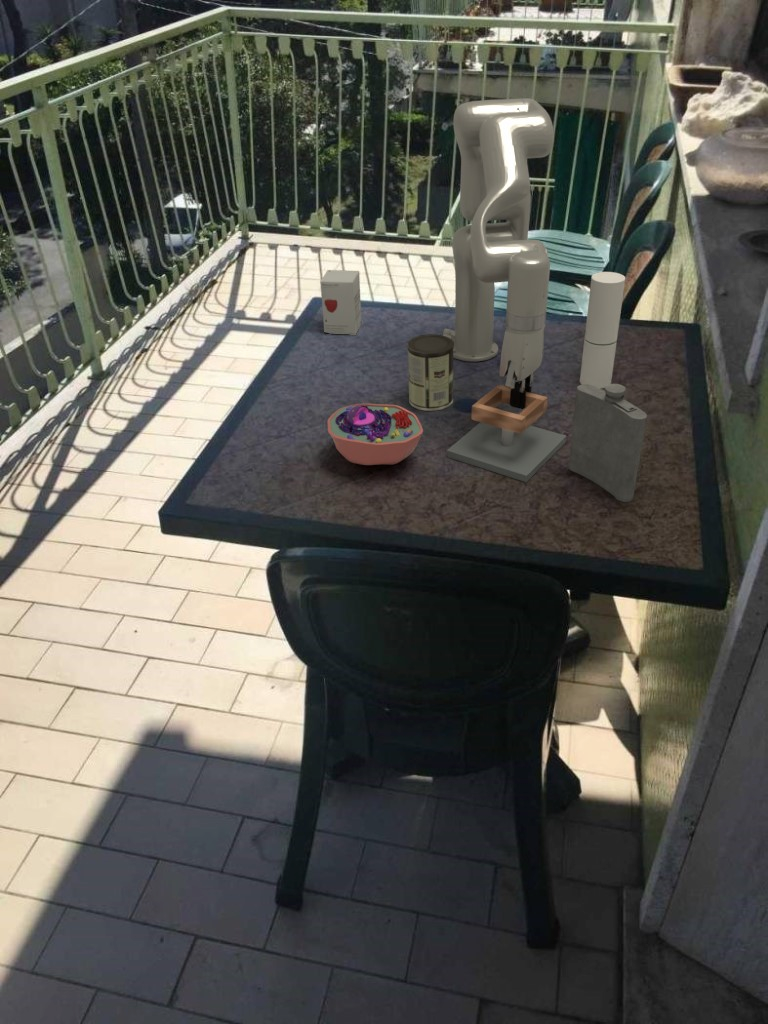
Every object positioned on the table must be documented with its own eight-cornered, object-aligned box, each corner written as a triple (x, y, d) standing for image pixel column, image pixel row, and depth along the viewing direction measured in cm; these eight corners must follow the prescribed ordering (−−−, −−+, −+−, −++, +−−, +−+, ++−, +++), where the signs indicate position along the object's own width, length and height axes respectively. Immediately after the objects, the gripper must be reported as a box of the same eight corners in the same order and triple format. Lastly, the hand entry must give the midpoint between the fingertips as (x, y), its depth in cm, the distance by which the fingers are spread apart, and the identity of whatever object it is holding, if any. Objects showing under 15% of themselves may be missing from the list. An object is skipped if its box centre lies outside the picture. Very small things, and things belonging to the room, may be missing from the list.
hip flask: (564, 466, 161) (574, 374, 150) (580, 460, 163) (591, 369, 152) (624, 504, 150) (640, 407, 139) (640, 496, 152) (656, 401, 140)
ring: (471, 419, 162) (471, 406, 160) (498, 397, 169) (498, 384, 167) (521, 433, 157) (522, 420, 155) (546, 410, 164) (547, 397, 162)
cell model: (396, 491, 157) (394, 440, 150) (312, 465, 166) (307, 415, 159) (439, 451, 168) (439, 402, 161) (358, 428, 177) (355, 381, 170)
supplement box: (323, 335, 219) (318, 280, 211) (330, 322, 227) (326, 269, 218) (356, 336, 218) (353, 281, 209) (362, 323, 225) (359, 269, 217)
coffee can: (428, 386, 192) (428, 330, 184) (462, 399, 186) (463, 341, 178) (398, 402, 186) (397, 344, 178) (433, 415, 180) (433, 357, 172)
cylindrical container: (609, 375, 194) (623, 271, 179) (612, 388, 188) (627, 283, 173) (578, 374, 194) (589, 271, 180) (581, 388, 189) (593, 283, 174)
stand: (446, 456, 166) (447, 424, 162) (489, 420, 178) (491, 389, 174) (526, 482, 157) (528, 449, 153) (566, 442, 169) (569, 410, 165)
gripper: (526, 302, 162) (521, 385, 173) (488, 329, 152) (484, 416, 163) (561, 309, 159) (553, 394, 169) (524, 337, 148) (518, 425, 159)
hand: (519, 404), depth 166 cm, fingers closed on ring, 1 cm apart
